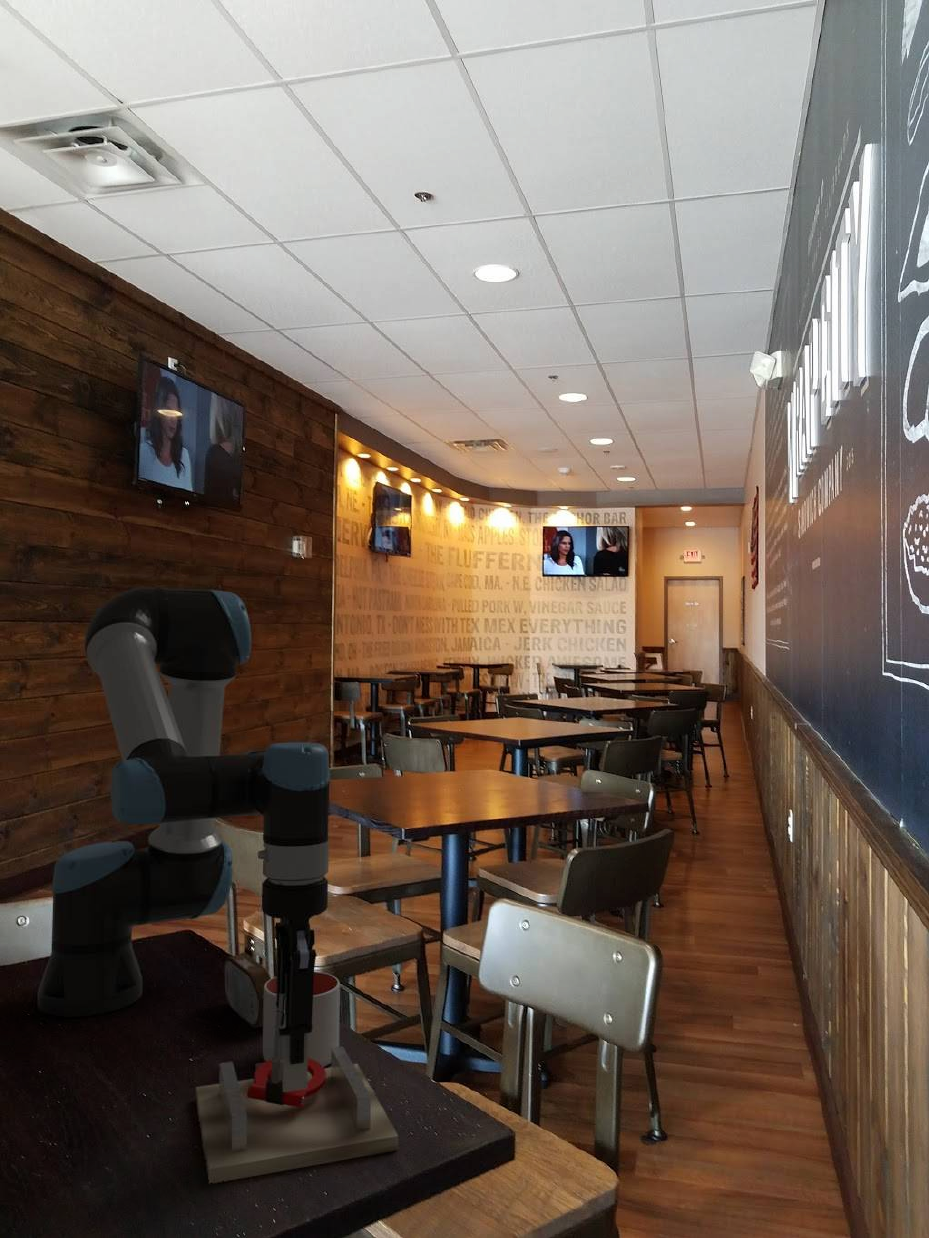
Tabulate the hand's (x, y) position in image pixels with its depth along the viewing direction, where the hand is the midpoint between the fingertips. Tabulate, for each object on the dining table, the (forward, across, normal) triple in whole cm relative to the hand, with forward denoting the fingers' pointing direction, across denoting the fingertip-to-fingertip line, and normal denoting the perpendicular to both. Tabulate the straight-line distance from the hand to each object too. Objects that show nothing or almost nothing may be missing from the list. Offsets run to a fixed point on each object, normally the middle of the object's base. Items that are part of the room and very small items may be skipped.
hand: (292, 1083), depth 107 cm
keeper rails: (+3, -1, 0) cm, 3 cm away
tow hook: (+2, -4, 0) cm, 4 cm away
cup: (+5, -17, +4) cm, 18 cm away
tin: (+5, -33, -1) cm, 34 cm away
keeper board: (+5, 0, 0) cm, 5 cm away
